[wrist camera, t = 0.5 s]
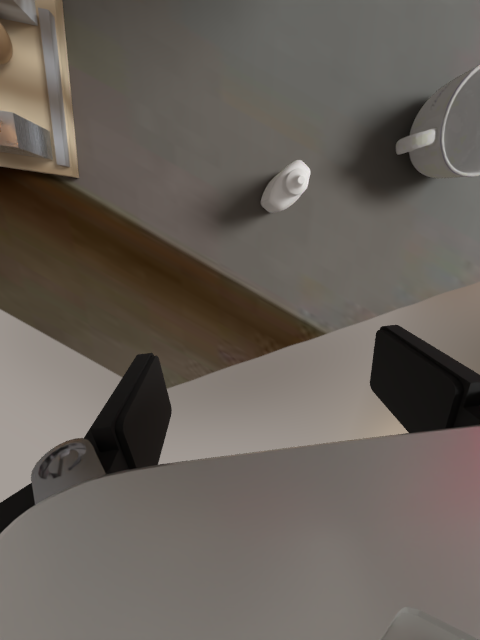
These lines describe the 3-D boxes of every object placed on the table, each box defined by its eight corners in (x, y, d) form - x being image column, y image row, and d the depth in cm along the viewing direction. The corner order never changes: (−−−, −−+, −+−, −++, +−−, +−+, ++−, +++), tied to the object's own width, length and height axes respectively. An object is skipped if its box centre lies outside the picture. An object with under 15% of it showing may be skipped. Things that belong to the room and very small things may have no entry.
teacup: (483, 87, 32) (560, 48, 25) (461, 181, 36) (522, 172, 29) (379, 94, 32) (426, 56, 24) (368, 189, 36) (406, 181, 29)
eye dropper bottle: (253, 185, 35) (266, 169, 24) (290, 167, 34) (322, 142, 23) (264, 216, 36) (281, 214, 25) (300, 199, 36) (334, 190, 25)
